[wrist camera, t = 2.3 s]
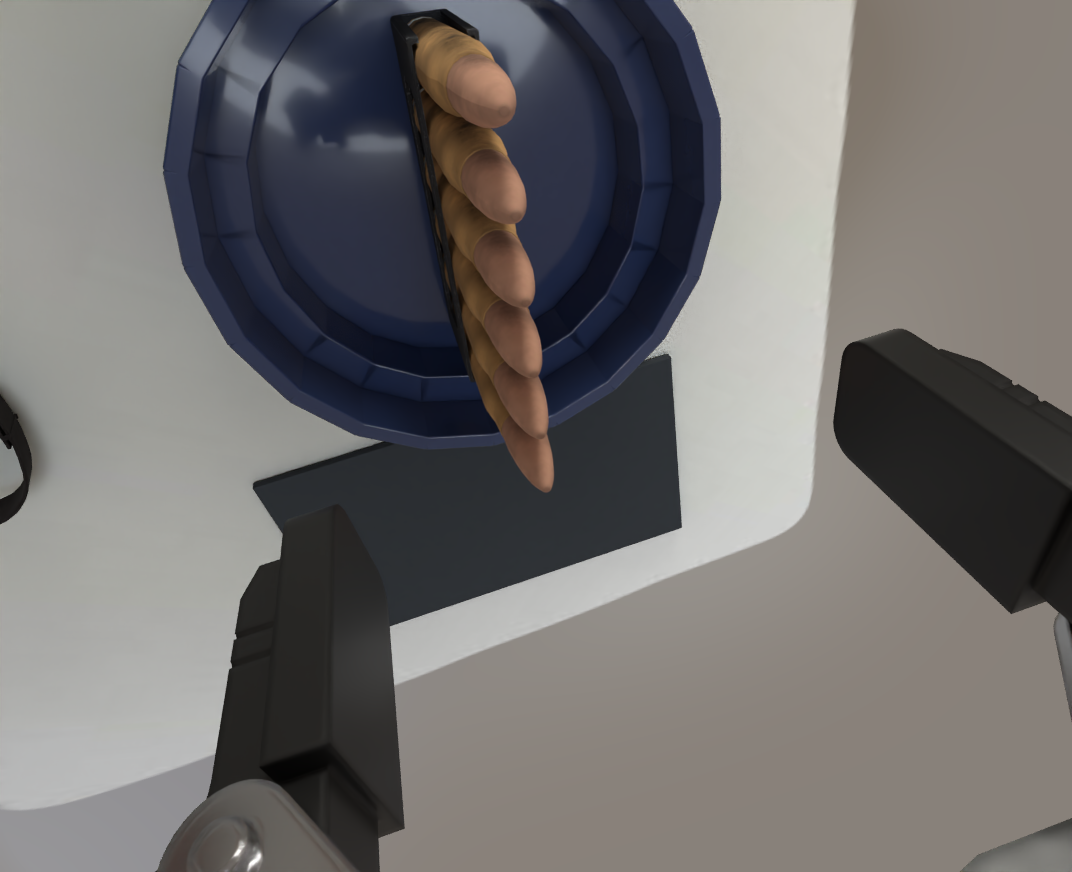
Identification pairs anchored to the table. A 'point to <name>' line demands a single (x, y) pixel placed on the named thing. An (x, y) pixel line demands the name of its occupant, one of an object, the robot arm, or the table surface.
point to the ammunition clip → (477, 222)
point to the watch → (9, 430)
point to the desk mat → (501, 499)
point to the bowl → (401, 211)
